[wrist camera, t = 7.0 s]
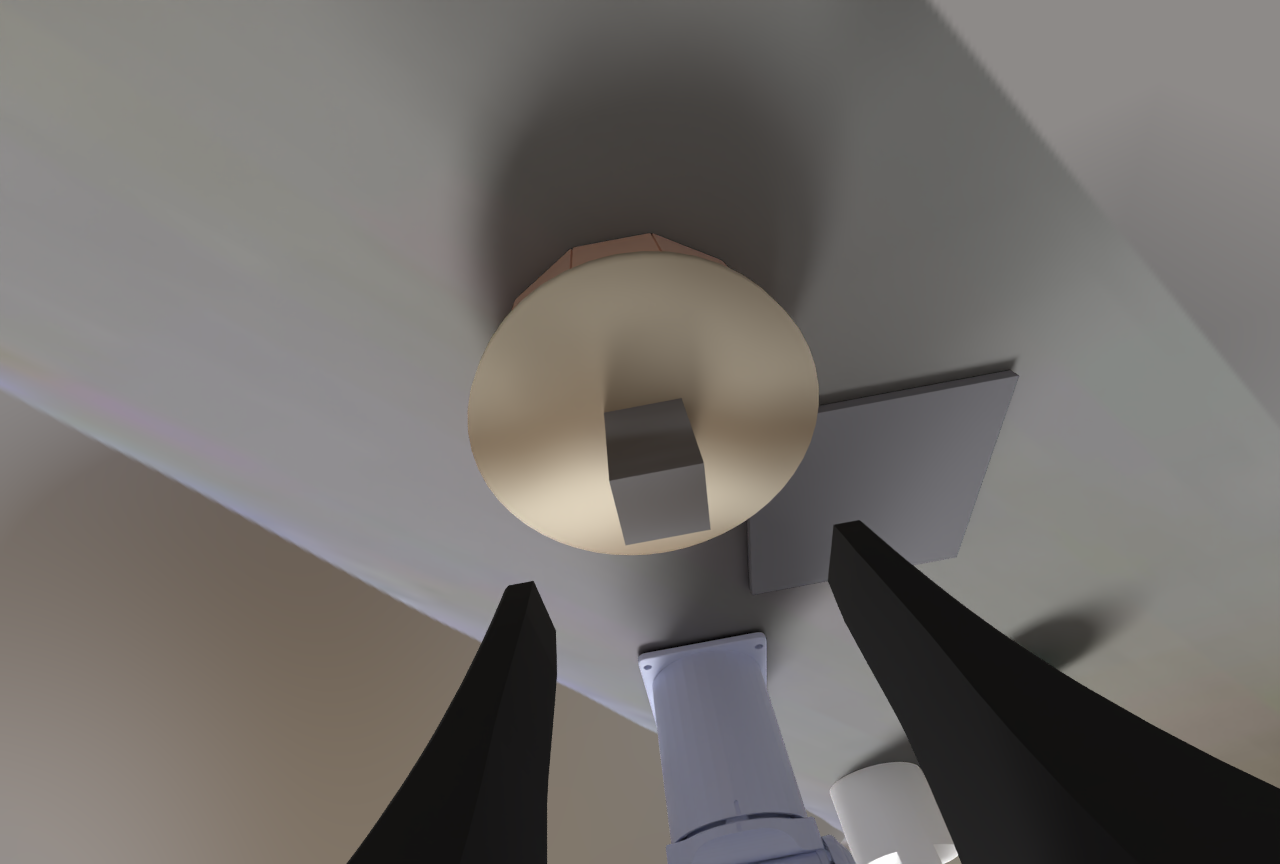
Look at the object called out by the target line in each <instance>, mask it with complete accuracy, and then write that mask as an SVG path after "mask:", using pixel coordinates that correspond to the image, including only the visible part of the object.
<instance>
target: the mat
mask: <svg viewBox="0 0 1280 864" xmlns="http://www.w3.org/2000/svg"><path fill="white" fill-rule="evenodd" d="M1018 378H1019V375H1017V374H1016V373H1014V372H1013V371H1011V370H1008V371H1003V372H998V373H992V374H987V375H982V376H976V377H971V378H966V379H960V380H955V381H950V382H944V383H939V384H934V385H928V386H923V387H918V388H912V389H907V390H901V391H896V392H891V393H885V394H880V395H875V396H869V397H864V398H859V399H853V400H848V401H843V402H837V403H832V404H827V405H821V406H819V407H818V414H817V421H816V426H815V429H814V432H813V436H812V439H811V442H810V444H809V447H808V449H807V451H806V453H805V455H804V458H803V460H802V461H801V463H800V465H799V466H798V468H797V469H796V471H795V473H794V474H793V476H792V477H791V478H790V480H789V481H788V482H787V483H786V485H785V486H784V487H783V488H782V490H781V491H780V492H779V493H778V494H777V495H776V496H775V497H774V498H773V499H772V500H771V501H770V502H769V503H768V504H767V505H765V506H764V507H763V508H762V509H761V510H759V511H758V512H757V513H756V514H754V515H753V516H752V517H750V518H749V519H747V532H748V560H749V588H750V591H751V594H752V595H755V594H761V593H766V592H772V591H777V590H782V589H788V588H793V587H799V586H804V585H809V584H815V583H820V582H825V581H828V572H829V563H830V553H831V544H832V535H833V525H835V524H840V523H845V522H851V521H856V520H860V521H861V522H863V523H864V524H865V525H866V526H868V527H869V528H870V529H871V530H872V531H873V532H874V533H876V534H877V535H878V536H879V537H880V538H881V539H883V540H884V541H885V542H886V543H887V544H888V545H889V546H891V547H892V548H893V549H894V550H895V551H897V552H898V553H899V554H900V555H901V556H902V557H904V558H905V559H906V560H907V561H908V562H910V563H911V564H912V565H917V564H922V563H928V562H933V561H938V560H944V559H949V558H955V557H957V555H958V552H959V549H960V546H961V543H962V540H963V537H964V535H965V532H966V529H967V526H968V523H969V520H970V517H971V514H972V511H973V508H974V505H975V503H976V500H977V497H978V494H979V491H980V488H981V485H982V482H983V479H984V476H985V474H986V471H987V468H988V465H989V462H990V459H991V456H992V453H993V450H994V447H995V444H996V442H997V439H998V436H999V433H1000V430H1001V427H1002V424H1003V421H1004V418H1005V415H1006V413H1007V410H1008V407H1009V404H1010V401H1011V398H1012V395H1013V392H1014V389H1015V386H1016V383H1017V381H1018Z"/></svg>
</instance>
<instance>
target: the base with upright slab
mask: <svg viewBox="0 0 1280 864" xmlns="http://www.w3.org/2000/svg"><path fill="white" fill-rule="evenodd" d="M830 795H831V798H832V800H833V803H834V806H835V809H836V812H837V814H838V817H839V820H840V823H841V825H842V828H843V831H844V834H845V837H846V839H847V842H848V845H849V848H850V850H851V853H852V856H853V858H854V860H855V862H856V864H944V863H946V862H949V861H951V860H952V859H954V858H955V857H957V856H958V853H957V851H956V848H955V846H954V843H953V841H952V838H951V836H950V834H949V831H948V829H947V827H946V824H945V822H944V819H943V817H942V815H941V812H940V810H939V808H938V805H937V803H936V801H935V798H934V796H933V794H932V791H931V789H930V787H929V784H928V782H927V780H926V778H925V776H924V774H923V772H922V770H921V768H920V767H919V766H918V765H915V764H913V763H908V762H890V763H883V764H877V765H874V766H870V767H866V768H863V769H860V770H858V771H855V772H852V773H850V774H848V775H846V776H844V777H843V778H841V779H840V780H838V781H837V782H836V783H835V784H834V785H833V786H832V787H831V789H830Z"/></svg>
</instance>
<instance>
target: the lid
mask: <svg viewBox="0 0 1280 864" xmlns="http://www.w3.org/2000/svg"><path fill="white" fill-rule="evenodd" d="M818 407H819V385H818V379H817V373H816V366H815V364H814V361H813V358H812V355H811V352H810V349H809V346H808V344H807V343H806V341H805V339H804V337H803V335H802V333H801V331H800V330H799V328H798V327H797V325H796V324H795V323H794V322H793V320H792V319H791V318H790V316H789V315H788V314H787V312H786V311H785V310H784V309H783V308H782V307H781V306H780V305H779V304H778V303H777V302H776V301H775V300H774V299H773V298H772V297H771V296H769V295H768V294H767V293H766V292H765V291H764V290H763V289H762V288H761V287H760V286H758V285H757V284H755V283H754V282H752V281H751V280H750V279H748V278H747V277H745V276H744V275H742V274H741V273H739V272H737V271H734V270H732V269H730V268H728V267H726V266H724V265H722V264H720V263H717V262H714V261H711V260H707V259H704V258H701V257H698V256H694V255H688V254H681V253H675V252H667V251H639V252H630V253H622V254H614V255H611V256H607V257H603V258H599V259H595V260H591V261H588V262H586V263H583V264H581V265H578V266H576V267H573V268H571V269H569V270H566V271H564V272H562V273H560V274H559V275H557V276H555V277H554V278H552V279H550V280H548V281H547V282H545V283H543V284H542V285H540V286H539V287H538V288H537V289H535V290H534V291H533V292H531V293H530V294H529V295H528V296H526V297H525V298H524V299H523V300H521V302H520V303H519V304H518V305H517V306H516V307H515V308H514V309H513V310H512V311H511V312H510V313H509V314H508V315H507V316H506V317H505V319H504V320H503V321H502V323H501V324H500V326H499V327H498V329H497V330H496V331H495V333H494V334H493V336H492V337H491V339H490V341H489V343H488V345H487V347H486V349H485V351H484V353H483V356H482V358H481V360H480V363H479V366H478V368H477V371H476V374H475V377H474V381H473V384H472V387H471V391H470V398H469V405H468V433H469V438H470V444H471V449H472V452H473V455H474V458H475V461H476V463H477V466H478V469H479V471H480V473H481V474H482V476H483V478H484V480H485V482H486V483H487V485H488V487H489V488H490V489H491V491H492V492H493V493H494V495H495V496H496V497H497V499H498V500H499V501H500V502H501V503H502V504H503V505H504V506H505V507H506V508H507V509H508V510H509V511H510V512H511V513H512V514H513V515H515V516H516V517H517V518H518V519H520V520H521V521H522V522H524V523H525V524H526V525H528V526H529V527H531V528H533V529H534V530H536V531H538V532H539V533H541V534H543V535H545V536H547V537H549V538H551V539H554V540H556V541H558V542H561V543H564V544H566V545H569V546H572V547H575V548H579V549H583V550H588V551H592V552H598V553H606V554H614V555H645V554H655V553H662V552H669V551H674V550H678V549H682V548H687V547H690V546H693V545H696V544H699V543H702V542H705V541H707V540H710V539H712V538H714V537H717V536H719V535H721V534H723V533H725V532H727V531H729V530H731V529H733V528H734V527H736V526H738V525H740V524H741V523H743V522H744V521H746V520H747V519H749V518H750V517H752V516H753V515H754V514H756V513H757V512H758V511H759V510H761V509H762V508H763V507H764V506H765V505H767V504H768V503H769V502H770V501H771V500H772V499H773V498H774V497H775V496H776V495H777V494H778V493H779V492H780V491H781V490H782V488H783V487H784V486H785V485H786V483H787V482H788V481H789V480H790V478H791V477H792V476H793V474H794V473H795V471H796V469H797V468H798V466H799V465H800V463H801V461H802V460H803V458H804V455H805V453H806V451H807V449H808V447H809V444H810V442H811V439H812V436H813V432H814V429H815V426H816V421H817V414H818Z"/></svg>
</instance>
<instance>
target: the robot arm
mask: <svg viewBox="0 0 1280 864" xmlns="http://www.w3.org/2000/svg"><path fill="white" fill-rule="evenodd" d="M828 582H829V584H830V587H831V589H832V592H833V594H834V597H835V599H836V602H837V604H838V607H839V609H840V611H841V614H842V616H843V618H844V621H845V623H846V625H847V627H848V628H849V630H850V632H851V634H852V636H853V638H854V639H855V641H856V643H857V645H858V647H859V649H860V650H861V652H862V654H863V656H864V658H865V660H866V661H867V663H868V665H869V667H870V669H871V670H872V672H873V674H874V676H875V678H876V679H877V681H878V683H879V685H880V687H881V688H882V690H883V692H884V694H885V696H886V697H887V699H888V701H889V703H890V705H891V706H892V708H893V710H894V712H895V714H896V716H897V717H898V719H899V721H900V723H901V725H902V727H903V729H904V731H905V733H906V735H907V737H908V739H909V742H910V744H911V746H912V748H913V751H914V753H915V755H916V757H917V760H918V762H919V764H920V766H921V769H922V771H923V773H924V775H925V778H926V780H927V782H928V784H929V787H930V789H931V791H932V794H933V796H934V798H935V801H936V803H937V805H938V808H939V810H940V812H941V815H942V817H943V819H944V822H945V824H946V827H947V829H948V831H949V834H950V836H951V838H952V841H953V843H954V846H955V848H956V851H957V853H958V856H959V858H960V861H961V863H962V864H1280V789H1279V788H1277V787H1275V786H1273V785H1271V784H1269V783H1267V782H1265V781H1262V780H1260V779H1258V778H1256V777H1254V776H1252V775H1250V774H1248V773H1246V772H1244V771H1242V770H1239V769H1237V768H1235V767H1233V766H1231V765H1229V764H1227V763H1225V762H1223V761H1221V760H1219V759H1217V758H1215V757H1213V756H1211V755H1209V754H1207V753H1205V752H1203V751H1201V750H1199V749H1197V748H1196V747H1194V746H1192V745H1190V744H1188V743H1186V742H1184V741H1182V740H1180V739H1178V738H1176V737H1174V736H1172V735H1171V734H1169V733H1167V732H1165V731H1163V730H1161V729H1159V728H1157V727H1155V726H1154V725H1152V724H1150V723H1148V722H1146V721H1145V720H1143V719H1141V718H1139V717H1138V716H1136V715H1134V714H1132V713H1131V712H1129V711H1127V710H1125V709H1124V708H1122V707H1120V706H1118V705H1117V704H1115V703H1113V702H1111V701H1109V700H1108V699H1106V698H1104V697H1102V696H1101V695H1099V694H1097V693H1095V692H1094V691H1092V690H1090V689H1088V688H1087V687H1085V686H1083V685H1082V684H1080V683H1078V682H1077V681H1075V680H1073V679H1072V678H1070V677H1069V676H1067V675H1065V674H1064V673H1062V672H1060V671H1059V670H1057V669H1056V668H1054V667H1052V666H1051V665H1049V664H1048V663H1046V662H1045V661H1043V660H1041V659H1040V658H1038V657H1037V656H1035V655H1034V654H1032V653H1031V652H1029V651H1028V650H1026V649H1025V648H1023V647H1022V646H1020V645H1019V644H1017V643H1016V642H1014V641H1013V640H1011V639H1010V638H1008V637H1007V636H1005V635H1004V634H1003V633H1001V632H1000V631H998V630H997V629H995V628H994V627H993V626H991V625H990V624H988V623H987V622H986V621H984V620H983V619H981V618H980V617H979V616H977V615H976V614H975V613H973V612H972V611H970V610H969V609H968V608H966V607H965V606H964V605H963V604H961V603H960V602H959V601H957V600H956V599H955V598H953V597H952V596H951V595H949V594H948V593H947V592H946V591H944V590H943V589H942V588H941V587H939V586H938V585H937V584H936V583H934V582H933V581H932V580H930V579H929V578H928V577H927V576H925V575H924V574H923V573H922V572H921V571H919V570H918V569H917V568H916V567H914V566H913V565H912V564H911V563H910V562H908V561H907V560H906V559H905V558H904V557H902V556H901V555H900V554H899V553H898V552H897V551H895V550H894V549H893V548H892V547H891V546H889V545H888V544H887V543H886V542H885V541H884V540H883V539H881V538H880V537H879V536H878V535H877V534H876V533H874V532H873V531H872V530H871V529H870V528H869V527H868V526H866V525H865V524H864V523H863V522H861V521H860V520H856V521H851V522H845V523H840V524H835V525H833V535H832V544H831V553H830V563H829V572H828ZM638 664H639V668H640V671H641V675H642V678H643V681H644V685H645V688H646V692H647V695H648V698H649V702H650V705H651V709H652V712H653V716H654V719H655V722H656V726H657V731H658V738H659V747H660V754H661V763H662V772H663V779H664V788H665V796H666V803H667V812H668V820H669V828H670V836H671V844H669V845H667V846H666V852H667V861H668V864H856V862H855V860H854V858H853V857H852V855H851V853H850V852H849V851H848V849H847V848H845V847H844V846H843V845H842V844H840V843H839V842H838V841H837V840H836V839H835V837H833V836H832V835H826V836H823V837H820V833H819V830H818V827H817V824H816V821H815V818H814V817H807V813H806V810H805V807H804V804H803V801H802V798H801V795H800V791H799V788H798V785H797V782H796V779H795V776H794V773H793V769H792V766H791V763H790V760H789V757H788V754H787V751H786V747H785V744H784V741H783V738H782V735H781V732H780V729H779V725H778V722H777V719H776V716H775V713H774V710H773V707H772V704H771V700H770V697H769V694H768V691H767V640H766V637H765V634H764V633H761V632H756V633H751V634H745V635H740V636H734V637H729V638H724V639H718V640H713V641H707V642H702V643H697V644H691V645H686V646H680V647H675V648H670V649H664V650H659V651H653V652H648V653H643V654H641V655H640V656H639V657H638ZM556 680H557V653H556V630H555V628H554V626H553V623H552V621H551V619H550V617H549V614H548V612H547V610H546V608H545V606H544V603H543V601H542V599H541V597H540V594H539V592H538V590H537V588H536V585H535V583H534V581H531V582H525V583H520V584H515V585H509V586H508V587H507V588H506V589H505V591H504V594H503V596H502V598H501V601H500V603H499V605H498V608H497V610H496V612H495V615H494V617H493V619H492V621H491V624H490V626H489V628H488V630H487V632H486V635H485V637H484V639H483V641H482V643H481V645H480V647H479V650H478V651H477V654H476V656H475V658H474V660H473V662H472V664H471V666H470V668H469V670H468V672H467V674H466V676H465V678H464V680H463V682H462V684H461V686H460V688H459V689H458V691H457V693H456V695H455V697H454V698H453V700H452V702H451V704H450V706H449V708H448V710H447V711H446V713H445V715H444V717H443V718H442V720H441V722H440V724H439V726H438V727H437V729H436V731H435V733H434V734H433V736H432V738H431V740H430V741H429V743H428V745H427V746H426V748H425V749H424V751H423V753H422V754H421V756H420V758H419V759H418V761H417V763H416V764H415V766H414V767H413V769H412V770H411V772H410V773H409V775H408V777H407V778H406V780H405V781H404V783H403V784H402V786H401V787H400V789H399V790H398V792H397V793H396V795H395V796H394V798H393V799H392V801H391V802H390V804H389V805H388V807H387V808H386V810H385V811H384V813H383V814H382V816H381V817H380V818H379V820H378V821H377V823H376V824H375V826H374V827H373V829H372V830H371V831H370V833H369V834H368V835H367V837H366V838H365V840H364V841H363V843H362V844H361V845H360V847H359V848H358V849H357V851H356V852H355V853H354V855H353V856H352V857H351V859H350V860H349V861H348V863H347V864H547V793H548V775H549V764H550V751H551V741H552V729H553V717H554V705H555V693H556V692H555V691H556Z"/></svg>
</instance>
